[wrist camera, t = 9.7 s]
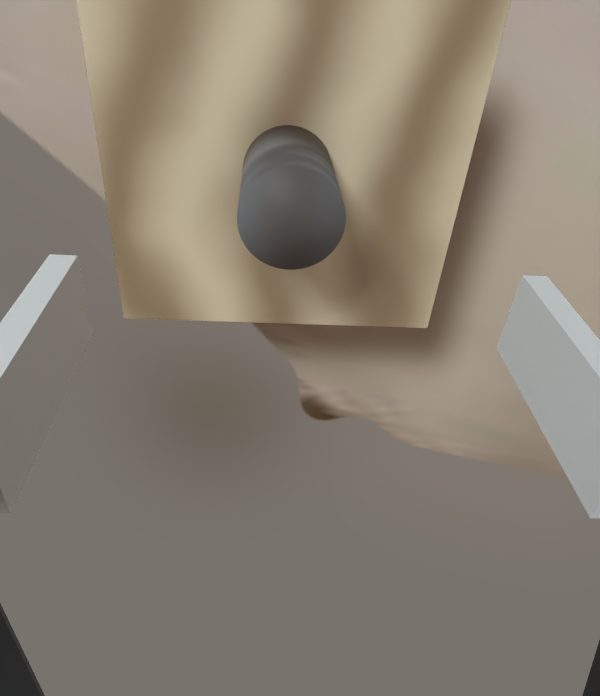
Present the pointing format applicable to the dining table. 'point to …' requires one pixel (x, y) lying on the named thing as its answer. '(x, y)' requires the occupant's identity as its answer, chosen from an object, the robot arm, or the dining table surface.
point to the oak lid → (286, 152)
